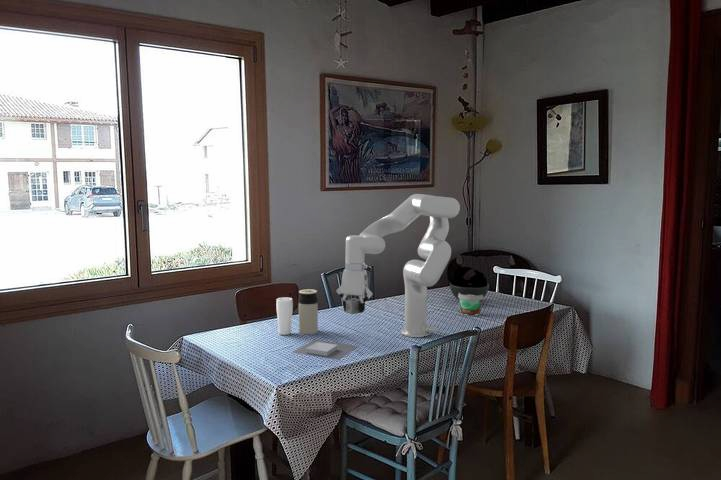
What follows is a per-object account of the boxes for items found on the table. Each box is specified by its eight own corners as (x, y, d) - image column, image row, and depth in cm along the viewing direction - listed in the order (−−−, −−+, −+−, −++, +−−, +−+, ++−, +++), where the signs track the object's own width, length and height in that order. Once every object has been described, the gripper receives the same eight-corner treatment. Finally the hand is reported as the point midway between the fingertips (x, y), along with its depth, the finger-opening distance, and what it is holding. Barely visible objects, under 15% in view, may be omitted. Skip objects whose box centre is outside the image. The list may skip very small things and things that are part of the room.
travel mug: (310, 336, 246) (310, 293, 243) (295, 333, 250) (294, 291, 248) (321, 331, 252) (321, 290, 250) (306, 328, 257) (306, 288, 254)
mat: (359, 346, 232) (359, 345, 232) (339, 360, 215) (339, 359, 215) (314, 340, 240) (314, 339, 240) (291, 353, 223) (291, 352, 223)
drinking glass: (279, 336, 244) (279, 301, 242) (274, 332, 250) (274, 298, 248) (295, 334, 248) (294, 299, 246) (289, 330, 253) (289, 296, 252)
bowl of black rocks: (449, 298, 318) (450, 263, 315) (486, 299, 315) (488, 264, 312) (449, 306, 298) (450, 270, 296) (489, 308, 295) (491, 271, 293)
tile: (337, 344, 226) (327, 351, 218) (337, 349, 226) (327, 356, 218) (317, 341, 230) (305, 348, 222) (317, 346, 230) (305, 353, 222)
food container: (454, 315, 282) (455, 294, 280) (457, 312, 287) (458, 292, 286) (480, 317, 277) (481, 297, 276) (483, 314, 283) (483, 294, 282)
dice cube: (351, 314, 232) (351, 302, 231) (344, 311, 236) (344, 299, 235) (361, 312, 235) (361, 300, 234) (354, 310, 239) (354, 298, 238)
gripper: (378, 267, 233) (377, 311, 235) (339, 263, 240) (338, 306, 242) (371, 270, 226) (370, 315, 228) (331, 266, 233) (330, 310, 235)
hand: (353, 310), depth 235 cm, fingers closed on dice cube, 6 cm apart
